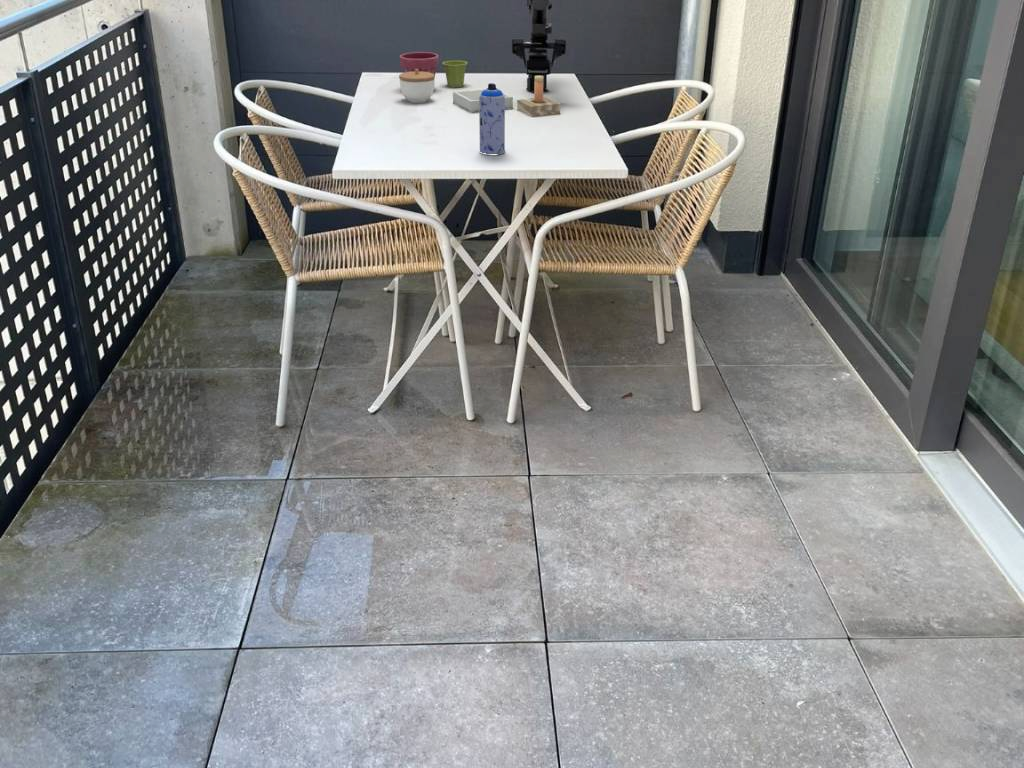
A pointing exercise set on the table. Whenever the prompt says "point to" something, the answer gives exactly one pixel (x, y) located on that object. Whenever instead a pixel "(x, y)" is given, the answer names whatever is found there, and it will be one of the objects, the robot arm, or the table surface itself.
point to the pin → (538, 89)
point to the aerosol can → (492, 120)
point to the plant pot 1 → (419, 62)
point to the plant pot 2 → (455, 73)
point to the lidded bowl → (417, 86)
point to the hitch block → (538, 107)
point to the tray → (475, 100)
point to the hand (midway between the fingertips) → (538, 67)
